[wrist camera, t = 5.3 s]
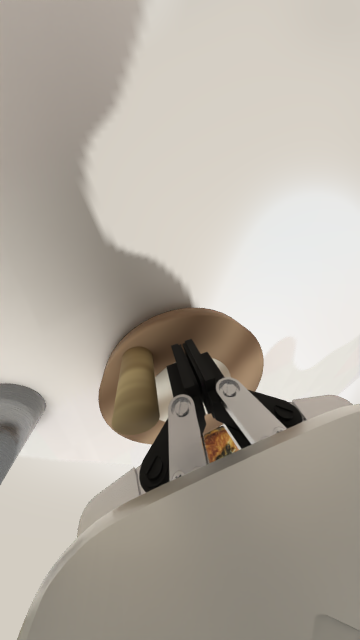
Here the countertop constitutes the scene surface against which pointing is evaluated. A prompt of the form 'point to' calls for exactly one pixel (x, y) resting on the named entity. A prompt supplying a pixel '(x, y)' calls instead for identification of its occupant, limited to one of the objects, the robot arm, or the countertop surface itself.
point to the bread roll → (219, 444)
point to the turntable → (156, 353)
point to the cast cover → (16, 421)
